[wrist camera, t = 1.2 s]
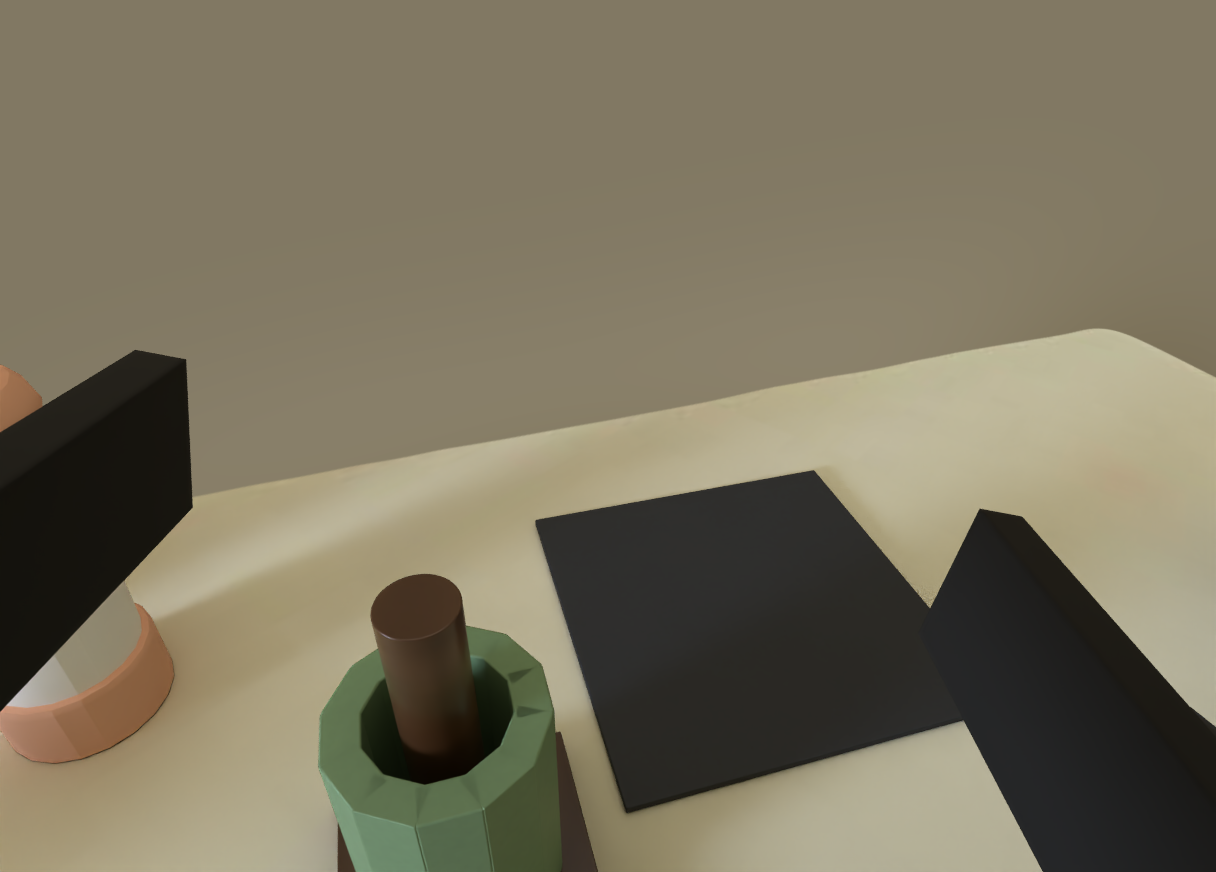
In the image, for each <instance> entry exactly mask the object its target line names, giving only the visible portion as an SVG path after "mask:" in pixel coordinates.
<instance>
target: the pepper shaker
mask: <svg viewBox="0 0 1216 872" xmlns="http://www.w3.org/2000/svg"><path fill="white" fill-rule="evenodd" d="M41 407H42V397H41V396H40V395H39V394H38V393H37V392H36V391H35V390H34V389H33V388H32V386H31V385H30V384H29V383H28V382H27V381H26V380H25V379H24V378H23V377H22V376H21V375H20V374H18V373H16V372H14V371H12V370H10V369H9V368H7V367H4V366H2V365H0V432H1V431H3V430H5V429H6V428H8V427H10V426H11V425H13V424H15V423H16V422H18V421H20V420H21V419H23V418H24V417H26V416H28V415H29V414H31V413H33V412H34V411H36V410H38V409H39V408H41ZM173 678H174V671H173V663H172V659H171V657H170V655H169V653H168V651H167V649H166V647H165V645H164V643H163V640H162V638H161V636H160V634H159V632H158V630H157V628H156V626H155V624H154V622H153V620H152V618H151V617H150V615H149V614H148V613H147V611H146V610H145V609H144V608H143V606H141V605H139V604H136V603H134V601H133V599H132V597H131V595H130V592H129V590H128V588H127V586H126V583H125V581H123V582H122V583H121V584H120V585H119V586H118V587H117V588H116V590H115V591H114V592H113V593H112V594H111V595H110V596H109V597H108V598H107V599H106V600H105V601H104V602H103V603H102V604H101V605H100V607H99V608H98V609H97V610H96V611H95V612H94V613H93V614H92V615H91V616H90V617H89V618H88V619H87V620H86V621H85V622H84V624H83V625H82V626H81V627H80V628H79V629H78V630H77V631H76V632H75V633H74V634H73V635H72V636H71V637H70V638H69V639H68V641H67V642H66V643H65V644H64V645H63V646H62V647H61V648H60V649H59V650H58V651H57V652H56V653H55V654H54V655H53V656H52V658H51V659H50V660H49V661H48V662H47V663H46V664H45V665H44V666H43V667H42V668H41V669H40V670H39V671H38V672H37V673H36V675H35V676H34V677H33V678H32V679H31V680H30V681H29V682H28V683H27V684H26V685H25V686H24V687H23V688H22V689H21V690H20V692H19V693H18V694H17V695H16V696H15V697H14V698H13V699H12V700H11V701H10V702H9V703H8V704H7V705H6V706H5V707H4V709H3V710H2V711H1V712H0V731H1V732H2V733H3V735H4V736H5V737H6V739H7V740H8V741H9V743H10V744H11V746H12V747H13V748H14V750H15V751H16V752H18V753H19V754H21V755H23V756H25V757H26V758H28V759H30V760H32V761H39V762H48V763H59V762H65V761H71V760H77V759H82V758H85V757H87V756H90V755H92V754H95V753H98V752H100V751H103V750H105V749H108V748H110V747H112V746H113V745H115V744H116V743H118V742H120V741H121V740H123V739H124V738H126V737H128V736H129V735H131V734H133V733H134V732H135V731H136V730H138V729H139V728H140V727H141V726H142V725H143V724H144V723H145V722H146V721H147V720H148V719H150V718H151V717H152V716H153V715H154V714H155V713H156V711H157V710H158V708H159V707H160V705H161V704H162V703H163V701H164V700H165V698H166V697H167V695H168V694H169V690H170V687H171V684H172V681H173Z"/></svg>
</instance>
